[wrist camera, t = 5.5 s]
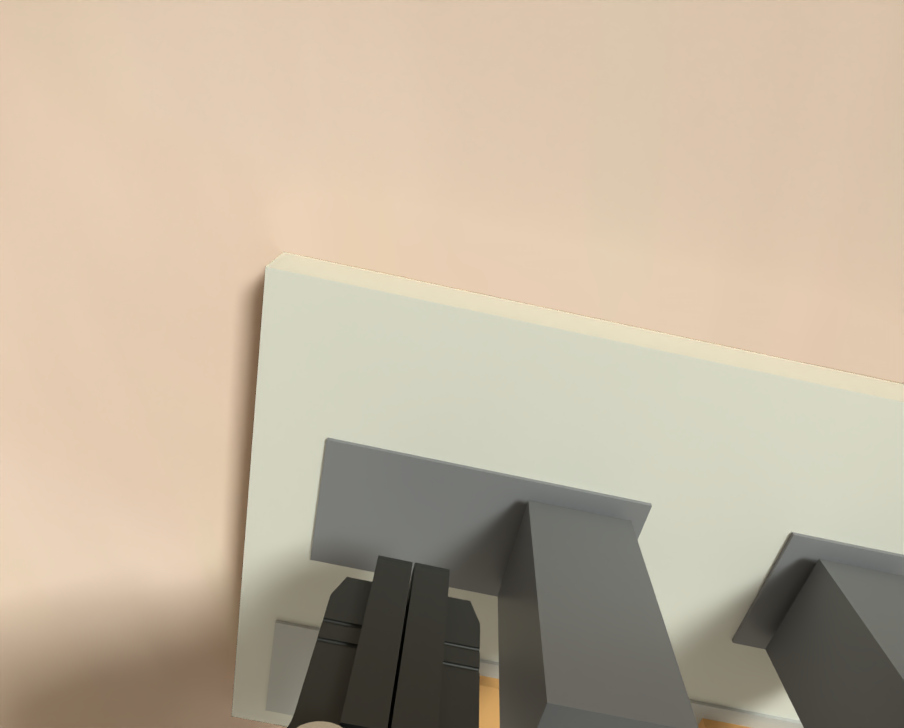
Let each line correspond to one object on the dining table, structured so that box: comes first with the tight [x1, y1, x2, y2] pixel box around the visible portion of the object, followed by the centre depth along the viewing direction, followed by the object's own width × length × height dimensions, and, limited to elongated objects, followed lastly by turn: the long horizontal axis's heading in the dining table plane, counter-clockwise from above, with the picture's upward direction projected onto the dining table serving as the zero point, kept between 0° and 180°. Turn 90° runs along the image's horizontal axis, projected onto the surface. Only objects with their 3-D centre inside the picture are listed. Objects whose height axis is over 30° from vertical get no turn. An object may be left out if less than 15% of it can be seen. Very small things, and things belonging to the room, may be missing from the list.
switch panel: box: [232, 252, 904, 728], centre depth 16 cm, size 14×33×2 cm, turn 78°
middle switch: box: [765, 559, 904, 728], centre depth 12 cm, size 3×2×5 cm
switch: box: [498, 500, 698, 728], centre depth 12 cm, size 3×2×5 cm
